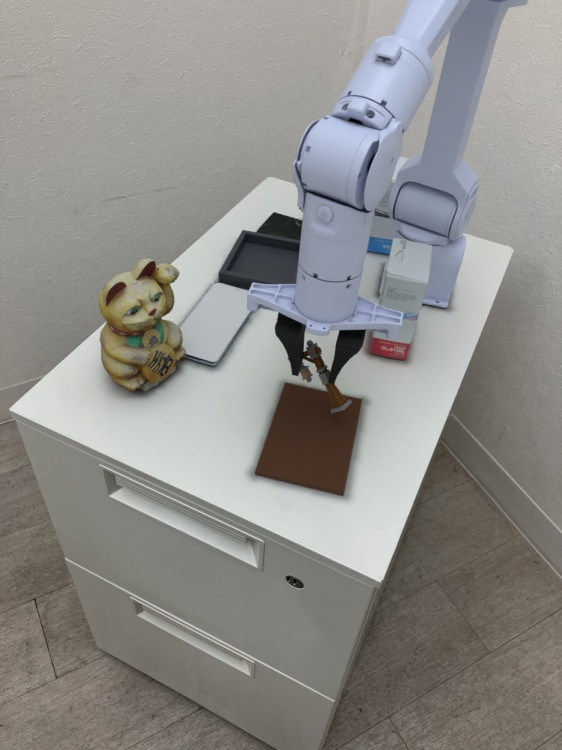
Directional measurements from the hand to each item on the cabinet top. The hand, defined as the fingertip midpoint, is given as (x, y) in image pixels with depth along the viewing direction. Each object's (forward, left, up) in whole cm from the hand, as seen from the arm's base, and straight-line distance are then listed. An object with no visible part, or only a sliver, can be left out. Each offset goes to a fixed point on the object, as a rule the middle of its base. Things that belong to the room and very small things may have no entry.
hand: (314, 373), depth 60 cm
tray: (+11, -25, -6) cm, 28 cm away
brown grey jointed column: (0, 0, -3) cm, 3 cm away
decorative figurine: (+20, -1, -6) cm, 21 cm away
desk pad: (-1, +3, -6) cm, 7 cm away
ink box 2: (-8, -16, -6) cm, 18 cm away
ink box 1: (-4, -39, -6) cm, 39 cm away
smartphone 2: (+7, -34, -6) cm, 36 cm away
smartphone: (+14, -11, -6) cm, 19 cm away
